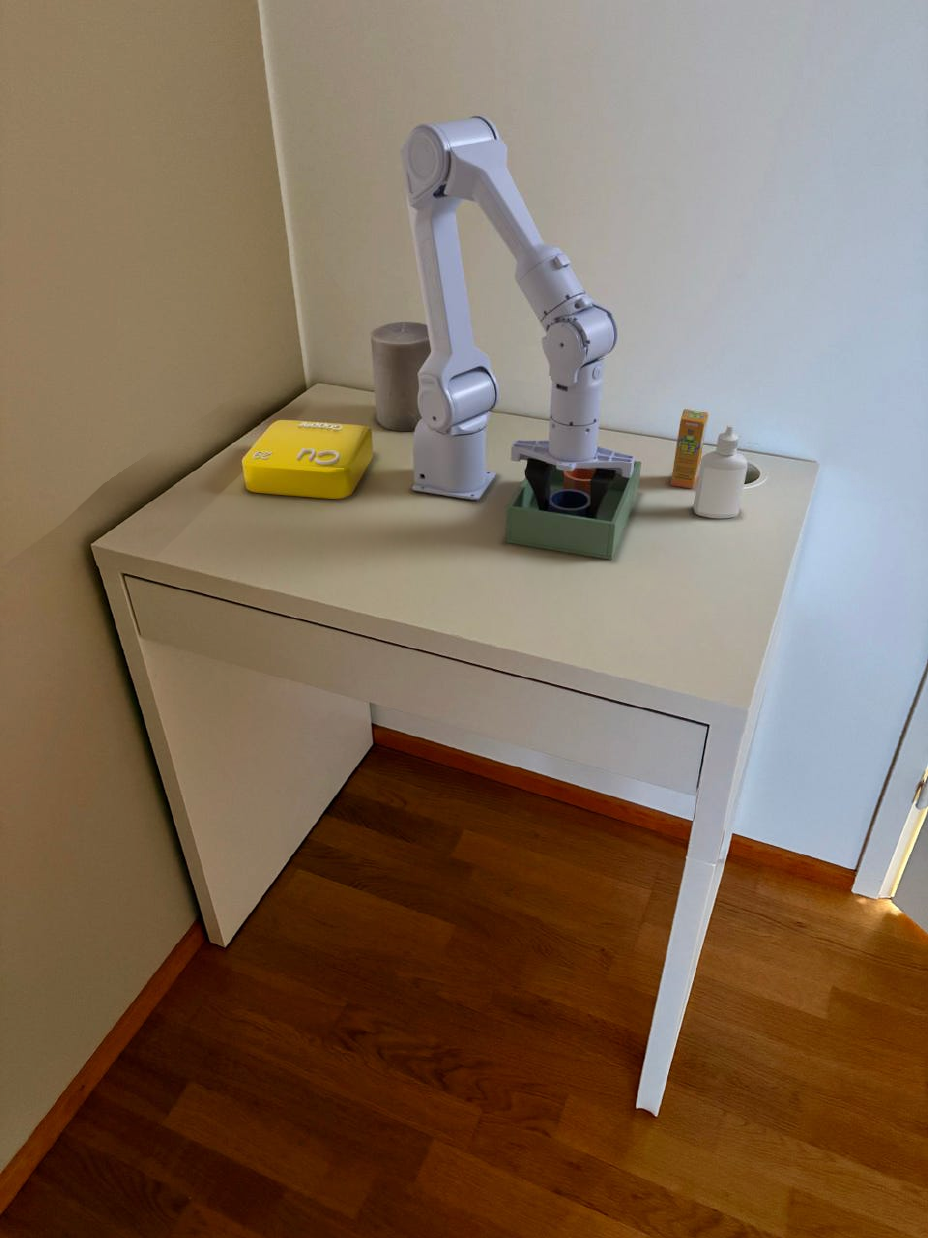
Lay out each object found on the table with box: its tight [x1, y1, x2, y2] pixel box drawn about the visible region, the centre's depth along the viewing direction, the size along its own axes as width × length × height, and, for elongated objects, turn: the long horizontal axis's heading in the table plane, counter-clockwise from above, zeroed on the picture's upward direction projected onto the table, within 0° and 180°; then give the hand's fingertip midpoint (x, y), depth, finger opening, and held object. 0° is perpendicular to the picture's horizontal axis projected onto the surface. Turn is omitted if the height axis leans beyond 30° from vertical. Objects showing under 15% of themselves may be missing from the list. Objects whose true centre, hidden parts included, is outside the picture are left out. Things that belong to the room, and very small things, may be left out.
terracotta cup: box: [562, 468, 603, 504], centre depth 119 cm, size 5×5×4 cm
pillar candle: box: [369, 321, 431, 432], centre depth 139 cm, size 10×10×15 cm
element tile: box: [241, 419, 374, 500], centre depth 127 cm, size 15×15×5 cm
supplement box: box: [670, 408, 709, 489], centre depth 122 cm, size 3×3×10 cm
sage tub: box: [505, 460, 642, 561], centre depth 116 cm, size 13×17×5 cm
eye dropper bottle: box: [693, 424, 748, 519], centre depth 115 cm, size 4×6×12 cm
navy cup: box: [546, 489, 590, 518], centre depth 113 cm, size 5×5×4 cm
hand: (567, 519), depth 113 cm, fingers closed on navy cup, 5 cm apart
